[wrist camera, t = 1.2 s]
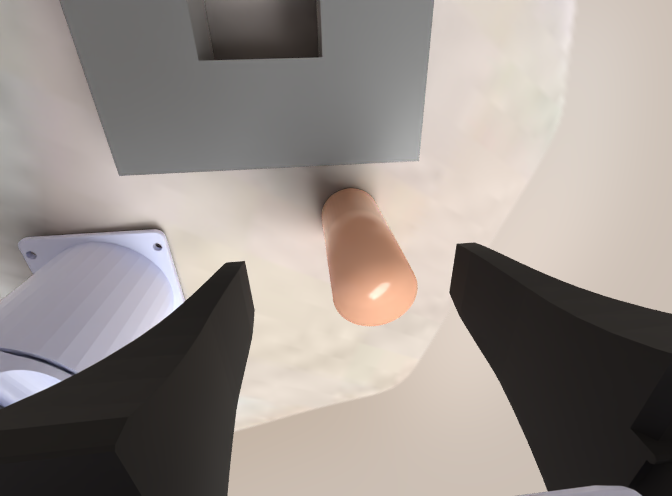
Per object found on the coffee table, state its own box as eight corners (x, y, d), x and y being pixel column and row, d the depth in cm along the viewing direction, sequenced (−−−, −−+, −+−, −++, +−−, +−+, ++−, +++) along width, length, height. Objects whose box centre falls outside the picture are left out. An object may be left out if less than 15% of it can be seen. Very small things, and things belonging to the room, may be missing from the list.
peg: (377, 238, 22) (413, 322, 15) (322, 242, 22) (333, 329, 15) (379, 186, 20) (421, 253, 13) (320, 189, 20) (331, 259, 13)
